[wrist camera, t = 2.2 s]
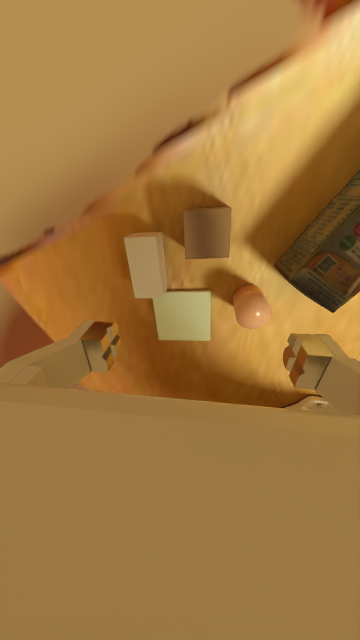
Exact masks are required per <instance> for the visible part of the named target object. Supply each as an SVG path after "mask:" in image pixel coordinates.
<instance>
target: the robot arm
mask: <svg viewBox="0 0 360 640" xmlns="http://www.w3.org/2000/svg"><path fill="white" fill-rule="evenodd" d="M118 331H119V328H118V324H117V323H115V322H102V321H88V320H87V321H84V322H83V323H82V324H81V325H80V326H79V327H78V328H77V329H76V330H75V331H74V332H73V333H72V334H71V335H70V336H69V337H68V338H67V339H62V340H59V341H57V342H55V343H52V344H50V345H48V346H45V347H43V348H40V349H38V350H36V351H33V352H31V353H29V354H26V355H24V356H21V357H19V358H17V359H14V360H12V361H9V362H7V363H6V364H5V365H4V366H3V367H2V368H0V640H360V361H358V360H356V359H352V358H349V357H348V356H347V354H346V353H345V352H344V351H343V350H342V349H341V348H340V347H339V345H338V344H337V343H336V342H335V341H334V340H333V339H332V338H331V336H329V335H324V334H292V333H291V334H290V336H289V338H288V343H289V346H288V347H286V348H285V350H284V353H283V363H284V366H285V368H286V369H287V370H288V371H290V375H289V377H290V379H291V381H292V383H293V385H294V388H303V389H312V390H315V391H316V392H317V393H318V394H320V395H321V396H322V397H317V396H309V397H306V398H305V399H303V400H302V401H300V402H299V403H297V404H294V405H292V406H288V407H286V408H274V407H263V406H253V405H242V404H231V403H220V402H209V401H198V400H187V399H176V398H165V397H154V396H143V395H132V394H121V393H111V392H100V391H89V390H78V389H69V388H70V387H71V386H73V385H74V384H75V383H77V382H78V381H80V380H81V379H82V378H84V377H85V376H86V375H88V374H89V373H91V371H96V372H109V371H110V369H111V367H112V365H113V363H114V359H113V358H115V357H117V356H118V354H119V352H120V348H121V339H120V337H119V336H118V335H117V332H118Z"/></svg>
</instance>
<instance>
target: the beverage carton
mask: <svg viewBox="0 0 360 640" xmlns="http://www.w3.org/2000/svg"><path fill="white" fill-rule="evenodd" d="M275 267H276V268H277V270H278V271H279V272H280V273H281V274H282V275H283V277H284V278H285V279H286V280H287V281H288V282H289V283H290V284H291V285H293V286H294V287H295V288H296V289H297V290H299V291H300V292H301V293H303V294H304V295H305V296H307V297H308V298H310V299H311V300H313V301H314V302H316V303H318V304H319V305H321V306H322V307H324V308H326V309H327V310H329V311H331V312H332V313H334V312H335V311H336V310H337V309H338V308H339V307H341V306H342V305H344V304H345V303H346V302H348V301H349V300H350V299H351V298H352V297H354V296H355V295H356V294H357V293H358V292H360V171H359V172H358V173H357V174H356V175H355V176H354V177H353V178H352V180H351V181H350V182H349V183H348V184H347V185H346V186H345V187H344V188H343V190H342V191H341V192H340V193H339V194H338V195H337V196H336V197H335V198H334V199H333V200H332V201H331V203H330V204H329V205H328V206H327V207H326V208H325V209H324V210H323V211H322V212H321V214H320V215H319V216H318V217H317V218H316V219H315V220H314V221H313V222H312V223H311V225H310V226H309V227H308V228H307V229H306V230H305V231H304V232H303V233H302V235H301V236H300V237H299V238H298V239H297V240H296V241H295V242H294V244H293V245H292V246H291V247H290V248H289V249H288V250H287V251H286V253H285V254H284V255H283V256H282V257H281V258H280V259H279V261H278V262H277V263H276V264H275Z"/></svg>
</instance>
